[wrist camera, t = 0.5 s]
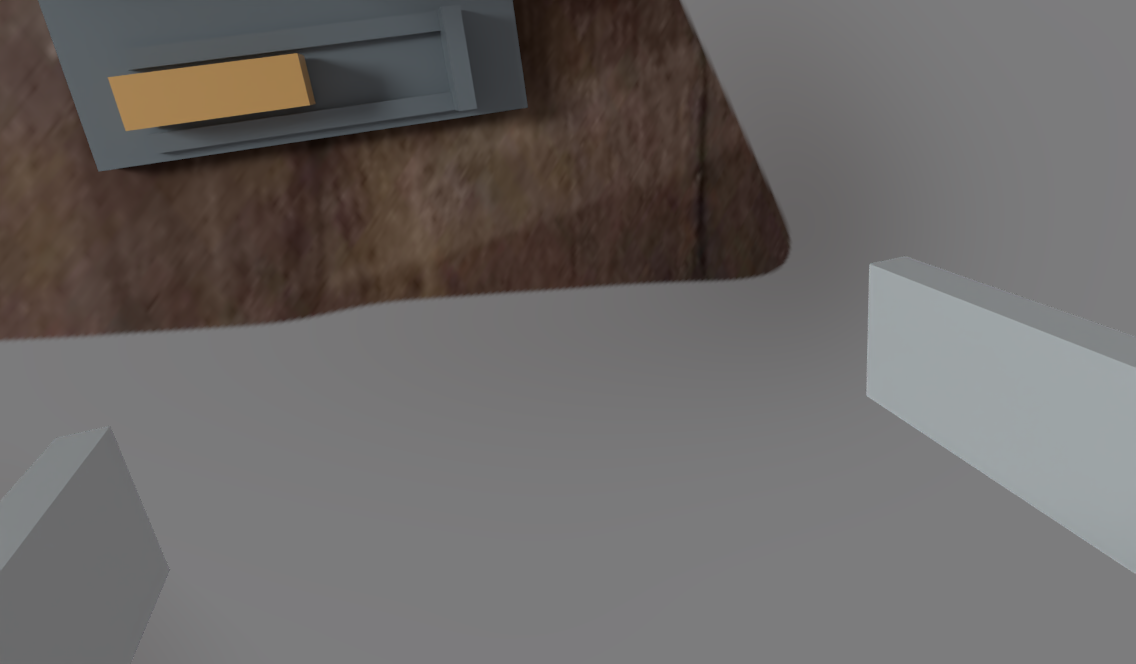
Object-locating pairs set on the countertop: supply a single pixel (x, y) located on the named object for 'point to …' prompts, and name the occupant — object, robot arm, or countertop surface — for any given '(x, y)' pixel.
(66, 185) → the countertop surface
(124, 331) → the countertop surface
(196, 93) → the bar
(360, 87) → the housing
